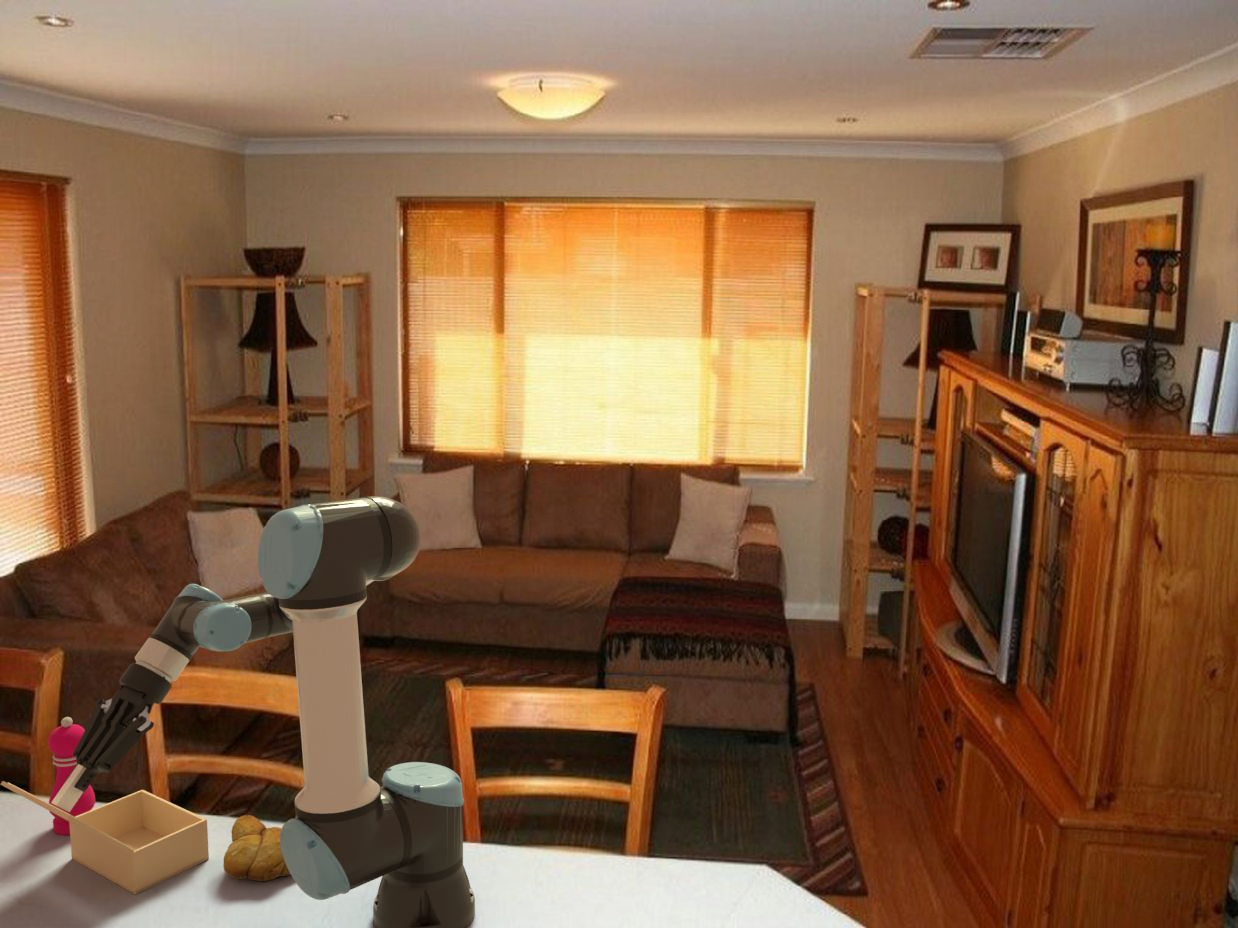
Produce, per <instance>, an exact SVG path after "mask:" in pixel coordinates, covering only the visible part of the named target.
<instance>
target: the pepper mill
mask: <svg viewBox="0 0 1238 928" xmlns="http://www.w3.org/2000/svg"><path fill="white" fill-rule="evenodd" d="M60 724H61V725H60V726H58V727H56V728H55V729H54V730H52V731H51V733H50V734H49V737H48V740H47V741H48V743H47V744H48V745H47V746H48V748H49V751H50V752H52V753H53V755H52V759H53V761H52V764H53V765H55V768H56V775H55V776H56V777H55V784H54V786H53V788H52V791H51V793H50V795H49V800H48V803H49V804H51V805H53V806H55V807H57V808H59V809H61V810H63V811H65V812H66V813H68V814H70V815H72V816H74V817H75V816H78V815H80V814H83V813H85V812H88V811H90V810H93V808H94V807H95V805H96V795H95V792H94V789H93V787H92V786H91V784H90V785H89V787H88V788H87V789H86V790H85V791H84V792H83V793H82V795H81V796H80V798H79V799H78V801H77V802H76V803H75V805H74V806H73V808H72V809H71V811H70V812H68V811H66V810H64V809H62V808H60V807H58V806H56V805H54V804H52V803H51V802H52V801H53V799H54V798H55V797H56V795H57V794H58V792H59V791H60V789H61V788H62V787H63V785H64V784H65V781H66V779H67V777H68V776H69V775H70V774H71V772H72V770H73V769H74V767H75V766H76V764H77V759H76V757H74V756H73V752H74V751H75V749H76V747H77V745H78V743H79V741H80V739H81V737H82V735H83V733H84V731H85V729H86V728H84V727H82V726H81V725H80V724H74V723H73V719H72V717H71V716H70V717H69V716H66V717H64V718H62V719H61V721H60ZM49 813H50V814H51V815H52V816H53V817H54V818H53V819H52V828H53V832H54V833H55V834H57V835H60V836H70V824H69V821H67V820H65V819H64V818H62V817H60V816H58V815H56V814H54V813H52V812H51V811H49Z"/></svg>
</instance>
